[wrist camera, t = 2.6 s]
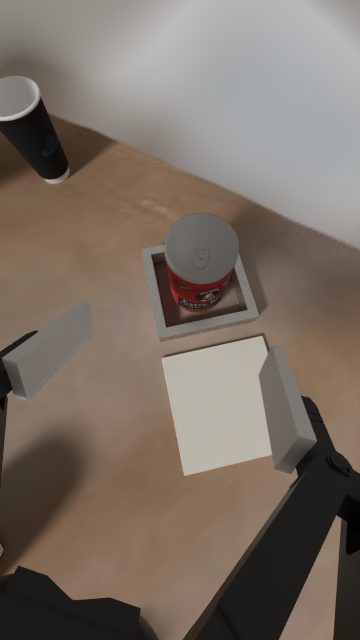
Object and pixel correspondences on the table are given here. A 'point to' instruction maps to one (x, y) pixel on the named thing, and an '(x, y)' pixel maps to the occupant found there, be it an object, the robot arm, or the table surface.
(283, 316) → the table surface
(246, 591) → the robot arm
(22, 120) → the dixie cup
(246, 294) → the square frame
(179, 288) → the canned food
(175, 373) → the tile
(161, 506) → the table surface
